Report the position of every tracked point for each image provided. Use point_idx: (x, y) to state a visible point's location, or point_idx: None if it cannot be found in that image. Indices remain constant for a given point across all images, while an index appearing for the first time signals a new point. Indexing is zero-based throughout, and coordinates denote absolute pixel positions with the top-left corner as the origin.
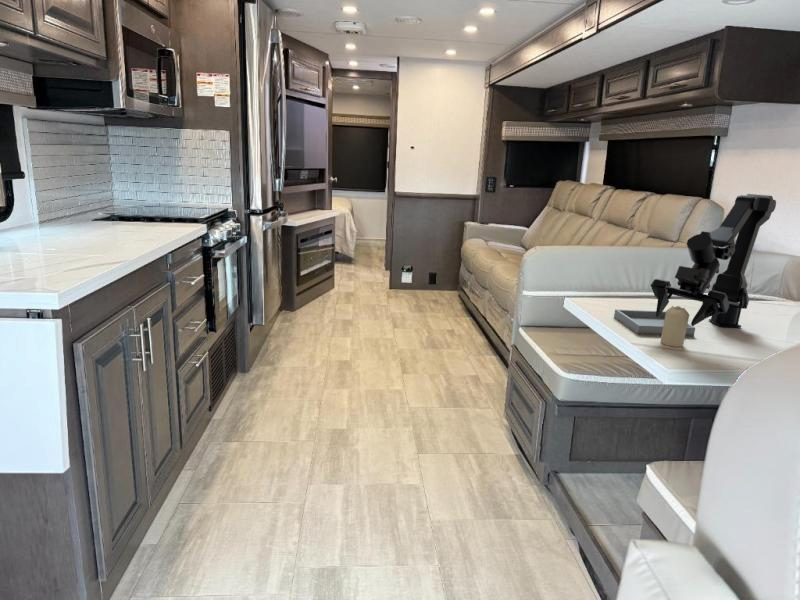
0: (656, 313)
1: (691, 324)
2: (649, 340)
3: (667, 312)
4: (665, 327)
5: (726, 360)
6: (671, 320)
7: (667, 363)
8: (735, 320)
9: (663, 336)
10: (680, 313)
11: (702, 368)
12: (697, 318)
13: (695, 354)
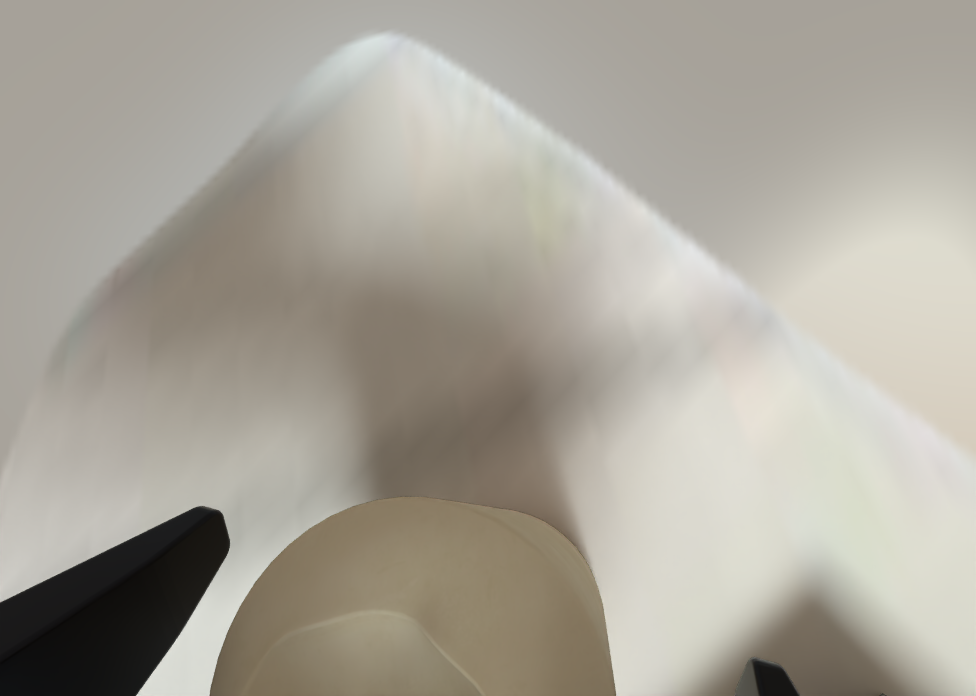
0: (776, 671)
1: (221, 516)
2: (692, 547)
3: (557, 570)
4: (556, 540)
5: (101, 486)
6: (474, 504)
7: (422, 109)
8: None
9: (566, 541)
10: (322, 552)
11: (239, 191)
12: (88, 561)
13: (293, 449)
